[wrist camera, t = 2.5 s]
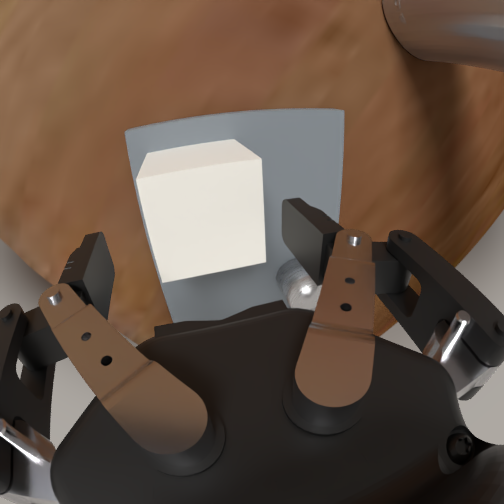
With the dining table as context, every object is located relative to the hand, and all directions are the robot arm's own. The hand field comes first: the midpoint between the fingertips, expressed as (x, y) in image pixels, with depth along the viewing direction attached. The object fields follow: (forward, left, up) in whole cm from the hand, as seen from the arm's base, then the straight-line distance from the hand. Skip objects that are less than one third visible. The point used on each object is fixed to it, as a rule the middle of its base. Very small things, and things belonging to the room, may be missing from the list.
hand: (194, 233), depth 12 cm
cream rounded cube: (-1, 0, -7) cm, 7 cm away
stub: (-8, +9, -7) cm, 14 cm away
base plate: (-4, +5, -9) cm, 11 cm away
